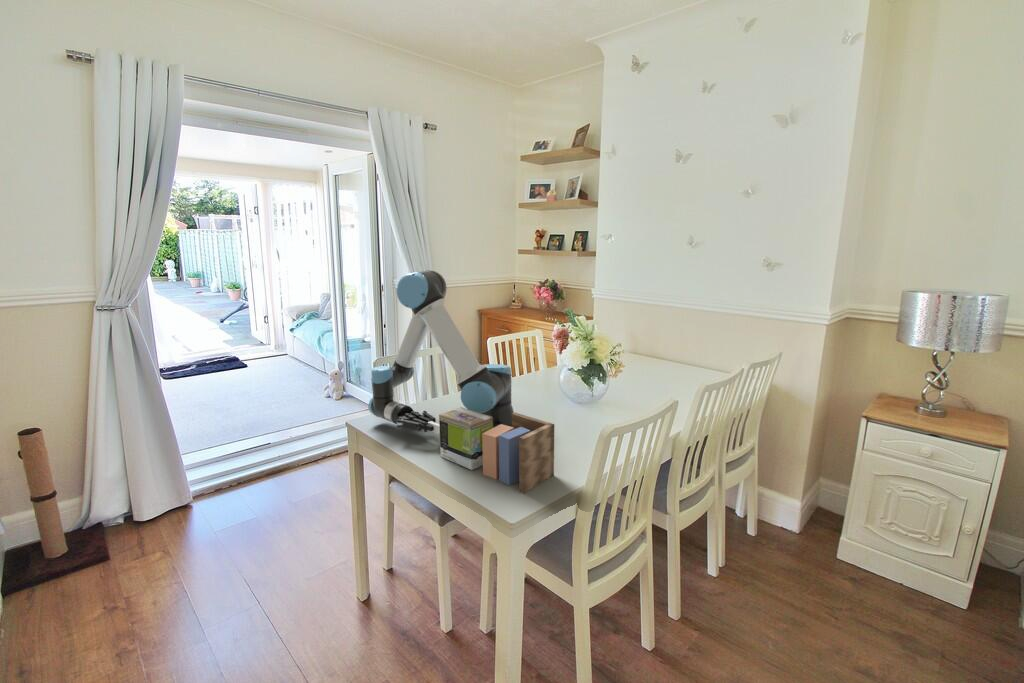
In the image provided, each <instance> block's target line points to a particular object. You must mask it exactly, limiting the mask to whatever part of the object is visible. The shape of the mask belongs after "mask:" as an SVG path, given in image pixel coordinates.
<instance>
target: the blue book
mask: <svg viewBox="0 0 1024 683" xmlns="http://www.w3.org/2000/svg"><path fill="white" fill-rule="evenodd" d="M530 432H531V430H528V429H526V428H523V427H519V428H516V429H514V430H511V431H509V432H506V433H504V434H501V435H499V478H498V479H499V480H498V481H500V482H501V483H503V482H504V484H505V483H506V484H505V485H508V486H510V484H511V485H513V484H515V483H517V482H519V437H521V436H524V435H526V434H528V433H530ZM514 482H515V483H514ZM512 483H513V484H512Z"/></svg>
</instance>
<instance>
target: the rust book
mask: <svg viewBox="0 0 1024 683" xmlns="http://www.w3.org/2000/svg"><path fill="white" fill-rule="evenodd" d="M511 430H514V427H510V426H506V425H503V424H500V425H498V426H496V427H494V428H492V429H490V430H488V431H486V432H484V433H482V446H483V465H482V474H483V475H484V476H487V477H489V478H493V479H495V480H497V479H499V435H501V434H504V433H506V432H509V431H511Z"/></svg>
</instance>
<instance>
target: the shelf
mask: <svg viewBox="0 0 1024 683" xmlns="http://www.w3.org/2000/svg"><path fill="white" fill-rule="evenodd" d="M512 427H514V429H516V428H519V427H523V428H526V429H528V430H531V432H530V433H528V434H526V435H524V436H521V437H519V481H518V486H519V488H518V491H520V492H519V493H521V492H522V493H521V494H523V493H524V494H525V492H526V493H527V492H529V491H531V490H532V489H534V488H535V487H537V486H539V485H541V482H542V483H543V482H545V481H546V479H547V480H549V479H550V478H552V477H553V476H554V475H555V423H552V422H548V421H545V420H542V419H538V418H534V417H531V416H528V415H525V414H521V413H518V412H514V413H513V414H512ZM551 476H552V477H551ZM538 484H539V485H538ZM536 485H537V486H536ZM533 487H534V488H533ZM530 489H531V490H530Z"/></svg>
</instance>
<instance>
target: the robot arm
mask: <svg viewBox="0 0 1024 683" xmlns="http://www.w3.org/2000/svg"><path fill="white" fill-rule="evenodd" d="M447 289H448V288H447V283H446V280H445V278H444V277H443V275H442V274H440V273H439V272H437V271H435V270H424V271H422V270H421V271H411V272H409V273H406V274H404V275H403V276H402V277H401V278H400V279H399V280H398V282H397V287H396V297H397V299H398V301H399V302H400V304H401V305H402V306H403V307H404V308H405V307H406V308H408V309H411V311H412V316H411V319H410V321H409V324H408V326H407V329H406V332H405V334H404V337H403V339H402V341H401V344H400V346H399V349H398V351H397V354H396V358H395V360H394V362H393V364H392V365H391V366H389V365H379V366H375V367H373V368H371V390H372V397H371V398H370V400H369V402H368V405H367V408H368V411H369V412H370V414H371V415H374V416H375V417H377V418H381V419H384V420H386V421H388V422H391V423H394V424H396V428H403V429H409V430H413V431H418V432H422V430H423V432H424V433H427V432H428V431H429V432H433V433H435V434H437V435H440V426H439V422H437V421H436V417H434V416H433V415H431V414H430V413H428V412H427V410H423V412H418V411H415V410H414V409H413V407H411V406H409V405H406V404H404V403H401V402H398V401H396V400H394V397H395V396H394V388H396V387H398V386H400V385H402V384H404V383H406V382H408V381H409V380H410V379H412V378H413V377H414V375H415V368H414V366H415V363H416V361H417V358H418V356H419V354H420V351H421V349H422V346H423V344H424V341H425V339H426V337H427V334H428V331H430V333H431V335H432V336H433V338H434V340H435V341H436V343H437V345H438V347H439V348H440V350H441V352H442V353H443V355H444V356H445V358H446V360H447V361H448V362H449V364H450V366H451V368H452V370H453V371H454V372H455V373H456V376H457V381H456V382H457V383H456V384H457V385H458V387H459V389H460V390H461V391H460V401H461V403H462V404H463V406H464V407H465V409H469V410H472V411H475V412H478V413H481V414H485V415H488V416H491V417H493V428H494V427H496V426H498V425H500V424H503V425H506V426H510V427H512V414H513V413H515V412H514V408H513V405H512V376H513V374H512V369H511V366H509V365H507V364H500V363H499V364H495V363H487V364H481V363H479V361H478V360H477V358H476V356H475V354H474V353H473V351H472V349H471V348H470V346H469V345H468V343H467V341H466V340H465V338H464V337H463V335H462V333H461V332H460V330H459V328H458V327H457V325H456V324H455V322H454V320H453V319H452V317H451V316H450V314H449V312H448V310H447V308H446V307H445V306H444V304H445V297H446V295H447V294H446V293H447Z"/></svg>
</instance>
